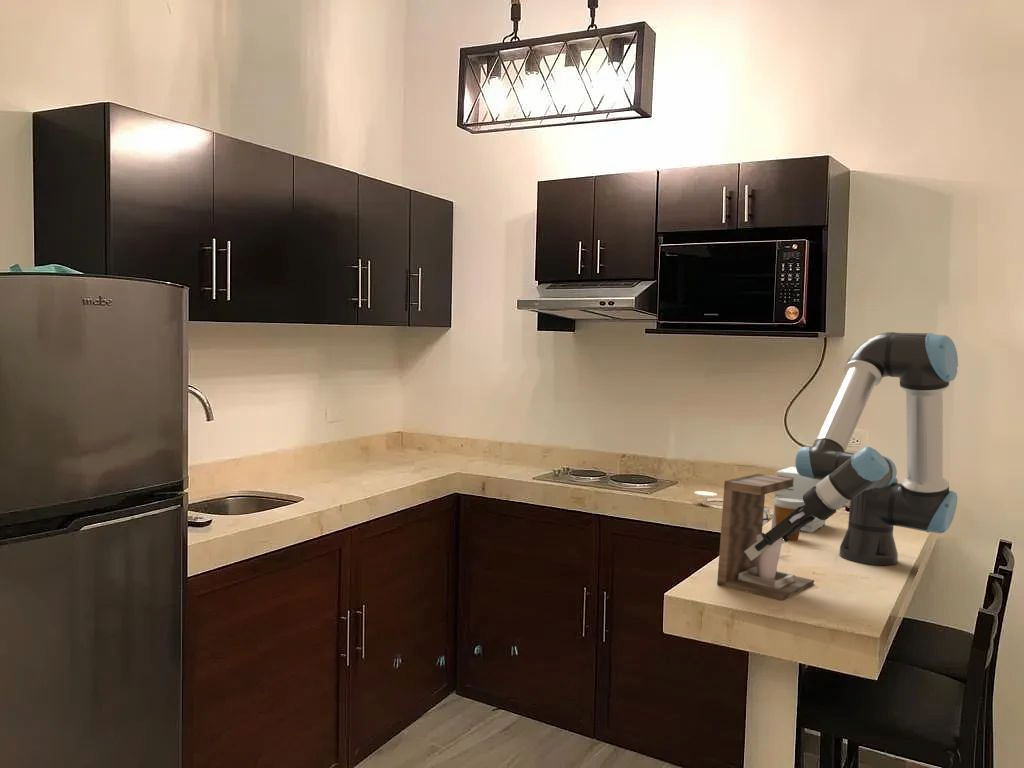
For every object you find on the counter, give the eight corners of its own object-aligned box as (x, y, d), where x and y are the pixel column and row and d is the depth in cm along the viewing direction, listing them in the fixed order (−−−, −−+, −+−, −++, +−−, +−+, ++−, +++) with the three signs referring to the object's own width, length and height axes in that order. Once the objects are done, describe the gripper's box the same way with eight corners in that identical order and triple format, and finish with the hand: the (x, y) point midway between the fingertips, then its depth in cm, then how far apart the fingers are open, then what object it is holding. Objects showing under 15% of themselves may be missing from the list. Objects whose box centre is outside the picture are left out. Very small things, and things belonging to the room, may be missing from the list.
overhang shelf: (751, 570, 223) (758, 473, 222) (813, 584, 213) (821, 483, 212) (717, 584, 208) (724, 480, 206) (782, 600, 198) (790, 491, 196)
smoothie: (782, 581, 207) (786, 523, 206) (754, 578, 208) (758, 520, 207) (778, 574, 213) (783, 517, 212) (751, 571, 214) (756, 515, 213)
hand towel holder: (758, 500, 305) (701, 497, 304) (757, 512, 305) (700, 509, 304) (742, 491, 322) (688, 488, 320) (741, 502, 322) (687, 500, 321)
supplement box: (813, 533, 274) (818, 476, 273) (771, 526, 281) (775, 470, 280) (826, 525, 288) (830, 471, 287) (786, 518, 295) (790, 465, 294)
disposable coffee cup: (807, 538, 265) (810, 499, 264) (798, 543, 257) (801, 503, 256) (776, 533, 270) (779, 495, 270) (766, 538, 262) (769, 498, 262)
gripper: (822, 516, 192) (747, 573, 203) (850, 506, 207) (779, 560, 218) (800, 489, 195) (727, 546, 206) (829, 481, 210) (760, 535, 221)
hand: (754, 553), depth 212 cm, fingers closed on smoothie, 6 cm apart
